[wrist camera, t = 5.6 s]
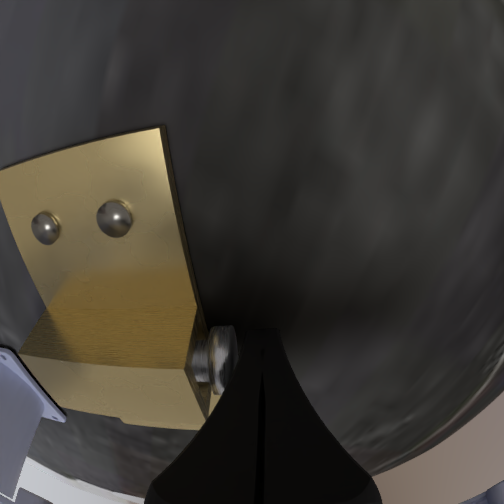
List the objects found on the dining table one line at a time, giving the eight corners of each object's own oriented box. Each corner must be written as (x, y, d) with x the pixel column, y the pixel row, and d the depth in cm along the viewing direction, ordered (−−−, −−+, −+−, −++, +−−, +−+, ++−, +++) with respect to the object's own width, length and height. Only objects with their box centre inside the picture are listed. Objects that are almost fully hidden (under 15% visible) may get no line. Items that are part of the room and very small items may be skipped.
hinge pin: (68, 350, 13) (50, 390, 11) (45, 311, 12) (20, 352, 10) (239, 355, 13) (236, 408, 11) (231, 310, 11) (226, 366, 9)
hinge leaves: (126, 415, 17) (114, 460, 14) (2, 168, 9) (-58, 206, 6) (233, 422, 17) (231, 472, 14) (165, 124, 8) (118, 153, 5)
